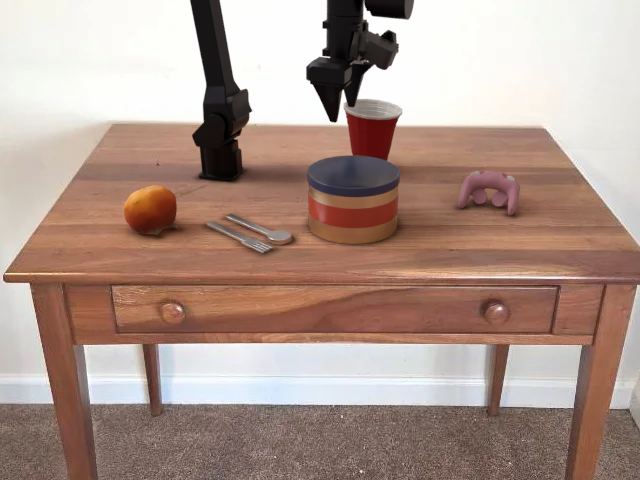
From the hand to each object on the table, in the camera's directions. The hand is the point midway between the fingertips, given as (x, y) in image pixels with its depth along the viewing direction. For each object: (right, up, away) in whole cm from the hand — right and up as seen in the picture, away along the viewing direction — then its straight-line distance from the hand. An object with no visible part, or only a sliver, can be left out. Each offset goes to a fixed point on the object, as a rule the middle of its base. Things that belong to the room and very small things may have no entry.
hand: (342, 114), depth 124 cm
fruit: (-29, -20, -7) cm, 36 cm away
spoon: (-13, -20, -7) cm, 25 cm away
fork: (-16, -22, -10) cm, 29 cm away
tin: (+2, -19, -5) cm, 20 cm away
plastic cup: (+5, -6, +17) cm, 18 cm away
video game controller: (+25, -15, +3) cm, 29 cm away
